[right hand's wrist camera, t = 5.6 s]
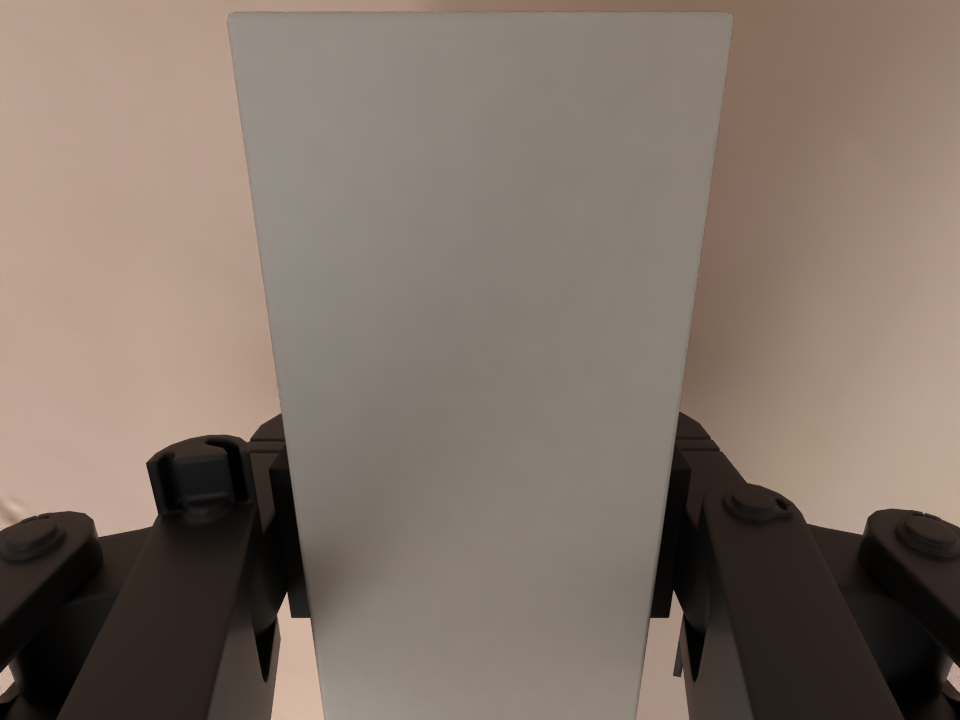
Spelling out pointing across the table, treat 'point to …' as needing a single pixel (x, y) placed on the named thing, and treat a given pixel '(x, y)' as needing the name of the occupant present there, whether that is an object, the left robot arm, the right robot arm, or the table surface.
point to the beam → (480, 337)
